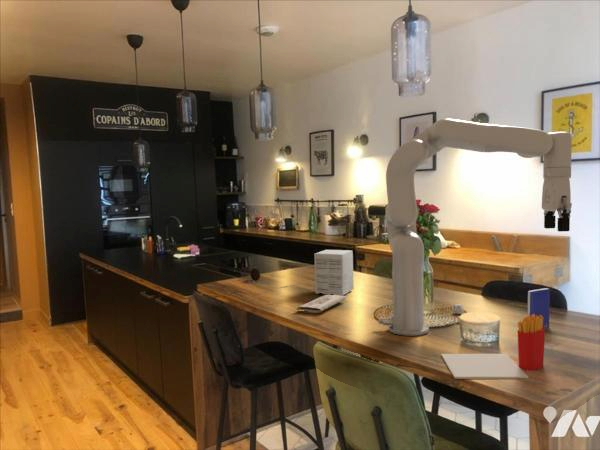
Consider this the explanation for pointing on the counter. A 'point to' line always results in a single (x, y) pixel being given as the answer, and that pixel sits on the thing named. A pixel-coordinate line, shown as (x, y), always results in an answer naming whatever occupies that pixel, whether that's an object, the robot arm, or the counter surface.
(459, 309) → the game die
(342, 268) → the supplement box
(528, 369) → the french fries
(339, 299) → the newspaper
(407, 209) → the robot arm
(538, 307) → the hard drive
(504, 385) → the counter surface
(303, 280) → the counter surface
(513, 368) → the mat
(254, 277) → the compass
